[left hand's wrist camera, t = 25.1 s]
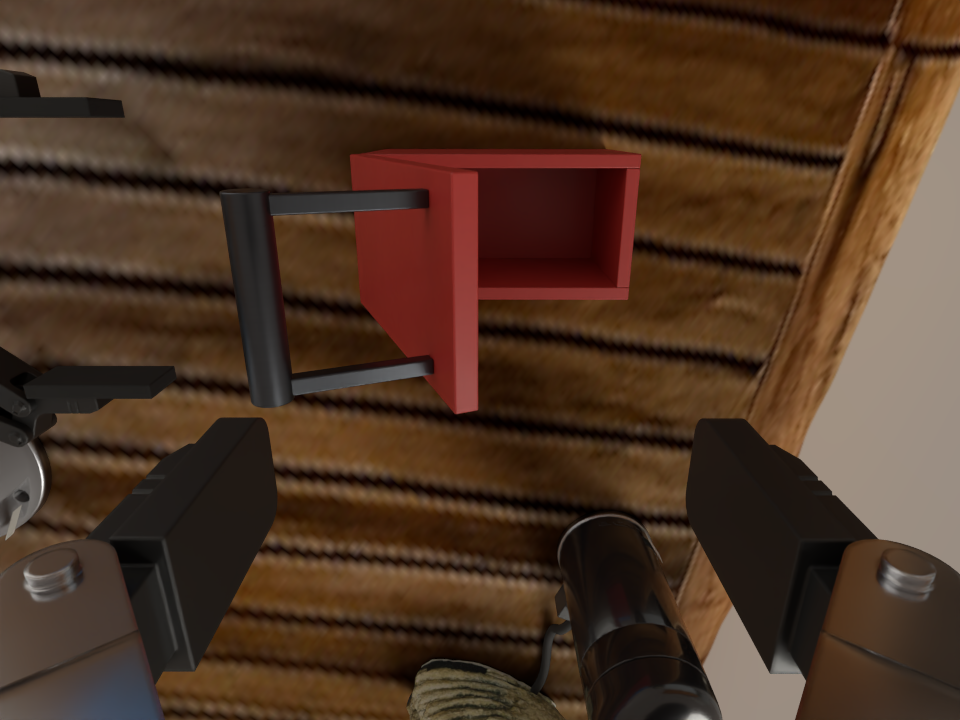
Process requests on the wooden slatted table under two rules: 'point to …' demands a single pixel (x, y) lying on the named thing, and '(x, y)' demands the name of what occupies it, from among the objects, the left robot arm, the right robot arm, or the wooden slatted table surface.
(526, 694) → the fossil
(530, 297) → the chest
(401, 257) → the lid
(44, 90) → the wooden slatted table surface
